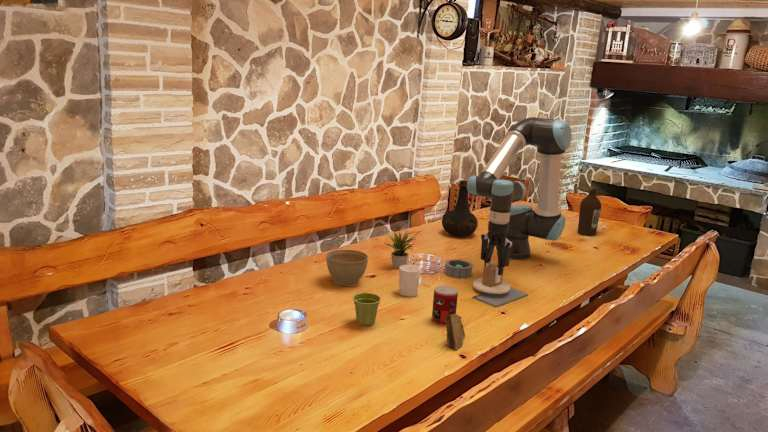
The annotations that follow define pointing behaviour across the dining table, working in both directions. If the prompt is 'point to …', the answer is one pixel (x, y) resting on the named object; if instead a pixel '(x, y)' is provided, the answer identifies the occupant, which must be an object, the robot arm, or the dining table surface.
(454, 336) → the rock
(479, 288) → the lid
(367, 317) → the plant pot
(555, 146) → the robot arm
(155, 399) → the dining table surface
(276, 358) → the dining table surface
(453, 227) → the black vase
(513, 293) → the mat
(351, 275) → the planter bowl
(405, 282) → the white cup
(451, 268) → the bowl
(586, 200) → the olive oil
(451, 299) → the canned food
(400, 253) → the house plant
